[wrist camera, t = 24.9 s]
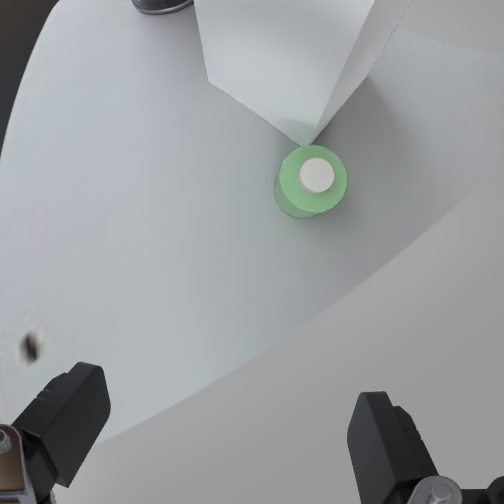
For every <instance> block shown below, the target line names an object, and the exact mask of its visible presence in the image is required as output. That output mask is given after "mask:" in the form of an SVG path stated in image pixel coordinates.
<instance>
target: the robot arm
mask: <svg viewBox="0 0 504 504" xmlns="http://www.w3.org/2000/svg"><path fill="white" fill-rule="evenodd" d="M132 2H133V4H134V6H135V7H136V8H137V9H138V10H139V11H141V12H144V13H147V14H165V13H170V12H174V11H177V10H180V9H182V8H184V7H186V6H188V5H190V4H191V3H193V2H194V0H132ZM110 408H111V405H110V399H109V394H108V390H107V385H106V381H105V376H104V371H103V369H102V367H100V366H97V365H93V364H89V363H84V362H78V363H77V364H76V365H75V366H74V367H73V368H72V369H71V370H70V371H69V372H68V373H63V374H61V375H59V376H57V377H55V378H54V379H52V380H51V381H50V382H49V383H48V384H47V385H46V386H45V388H44V390H43V391H41V392H40V393H39V394H38V395H37V398H35V399H34V400H33V401H32V402H31V403H30V404H29V405H28V406H27V408H26V409H25V410H24V411H23V412H22V413H21V414H20V415H19V417H18V418H17V419H16V420H15V421H14V422H13V424H12V425H11V426H10V425H6V424H0V504H56V500H55V496H54V493H53V491H52V488H53V486H54V484H55V483H57V484H59V485H62V486H64V487H67V488H69V486H70V484H71V482H72V480H73V479H74V477H75V475H76V473H77V471H78V470H79V468H80V466H81V465H82V463H83V461H84V459H85V458H86V456H87V454H88V452H89V451H90V449H91V447H92V445H93V444H94V442H95V440H96V439H97V437H98V435H99V433H100V432H101V430H102V428H103V427H104V425H105V423H106V422H107V420H108V418H109V415H110ZM347 442H348V448H349V452H350V456H351V460H352V465H353V469H354V473H355V478H356V482H357V486H358V491H359V495H360V499H361V504H504V476H502V477H499V478H497V479H495V480H494V481H493V482H492V483H491V484H490V486H489V487H488V488H487V489H460V487H459V486H458V485H457V483H455V482H454V481H453V480H451V479H449V478H447V477H443V476H439V474H438V472H437V470H436V468H435V465H434V463H433V461H432V459H431V457H430V455H429V453H428V451H427V448H426V446H425V444H424V442H423V441H422V440H421V436H420V434H419V432H418V430H416V426H415V424H414V422H413V420H412V418H411V416H410V415H409V414H408V413H407V412H406V411H404V410H403V409H402V408H401V407H400V406H395V407H393V406H392V404H391V401H390V399H389V397H388V395H387V393H386V392H384V391H381V392H362V393H360V395H359V397H358V400H357V403H356V406H355V409H354V413H353V415H352V418H351V421H350V424H349V428H348V434H347Z"/></svg>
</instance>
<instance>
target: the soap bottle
mask: <svg viewBox="0 0 504 504" xmlns="http://www.w3.org/2000/svg"><path fill="white" fill-rule="evenodd" d="M347 183H348V178H347V172H346V169H345V166H344V164H343V162H342V161H341V159H340V158H339V157H338V156H337V155H336V154H335V153H334V152H332V151H331V150H329V149H327V148H325V147H323V146H319V145H304V146H301V147H298V148H296V149H295V150H293V151H292V152H291V153H289V154H288V155H287V157H286V158H285V159H284V161H283V163H282V165H281V168H280V171H279V173H278V176H277V179H276V182H275V185H274V196H275V200H276V202H277V204H278V206H279V207H280V208H281V209H282V210H283V211H284V212H285V213H286V214H288V215H290V216H293V217H296V218H306V217H310V216H313V215H316V214H319V213H322V212H324V211H327V210H330V209H332V208H333V207H335V206H336V205H337V204H338V203H339V202H340V201H341V200H342V198H343V196H344V194H345V192H346V189H347Z"/></svg>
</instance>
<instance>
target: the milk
mask: <svg viewBox="0 0 504 504" xmlns="http://www.w3.org/2000/svg"><path fill="white" fill-rule="evenodd" d="M411 1H412V0H194V5H195V11H196V16H197V22H198V27H199V33H200V38H201V44H202V49H203V55H204V60H205V65H206V71H207V76H208V81H209V83H211V84H212V85H214V86H215V87H217V88H219V89H220V90H222V91H223V92H225V93H226V94H228V95H229V96H231V97H232V98H234V99H235V100H237V101H238V102H240V103H241V104H243V105H244V106H246V107H247V108H249V109H250V110H251V111H253V112H254V113H256V114H257V115H259V116H260V117H261V118H263V119H264V120H266V121H267V122H268V123H270V124H271V125H273V126H274V127H275V128H277V129H278V130H279V131H281V132H282V133H284V134H285V135H286V136H288V137H289V138H290V139H292V140H293V141H294V142H296V143H297V144H298V145H299V146H304V145H311V143H312V142H313V141H314V140H315V138H316V137H317V136H318V135H319V134H320V132H321V131H322V130H323V129H324V128H325V126H326V125H327V124H328V123H329V121H330V120H331V119H332V118H333V117H334V115H335V114H336V113H337V112H338V111H339V109H340V108H341V107H342V106H343V105H344V103H345V102H346V101H347V100H348V98H349V97H350V96H351V95H352V94H353V92H354V91H355V90H356V89H357V88H358V87H359V85H360V84H361V83H362V82H363V81H364V79H365V78H366V77H367V76H368V74H369V72H370V71H371V69H372V67H373V66H374V64H375V62H376V61H377V59H378V57H379V56H380V54H381V52H382V50H383V49H384V47H385V45H386V44H387V42H388V40H389V39H390V37H391V35H392V33H393V32H394V30H395V28H396V27H397V25H398V23H399V21H400V20H401V18H402V16H403V15H404V13H405V11H406V9H407V8H408V6H409V4H410V3H411Z"/></svg>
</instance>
